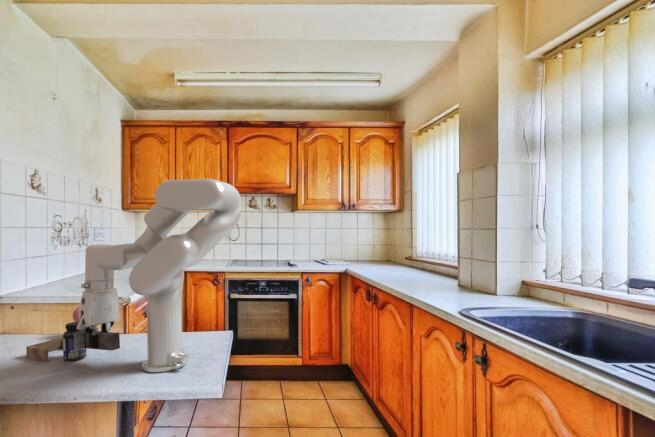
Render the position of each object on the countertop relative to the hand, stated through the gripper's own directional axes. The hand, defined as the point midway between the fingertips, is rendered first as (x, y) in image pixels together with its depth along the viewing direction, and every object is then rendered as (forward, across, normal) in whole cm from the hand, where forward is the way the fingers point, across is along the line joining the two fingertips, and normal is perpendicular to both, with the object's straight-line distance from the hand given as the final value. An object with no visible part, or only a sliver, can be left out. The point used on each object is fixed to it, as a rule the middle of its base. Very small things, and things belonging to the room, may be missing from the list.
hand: (98, 345), depth 115 cm
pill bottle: (+6, 0, +12) cm, 13 cm away
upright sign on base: (+1, 0, 0) cm, 1 cm away
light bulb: (+7, +16, +33) cm, 37 cm away
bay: (+6, 0, +22) cm, 23 cm away
